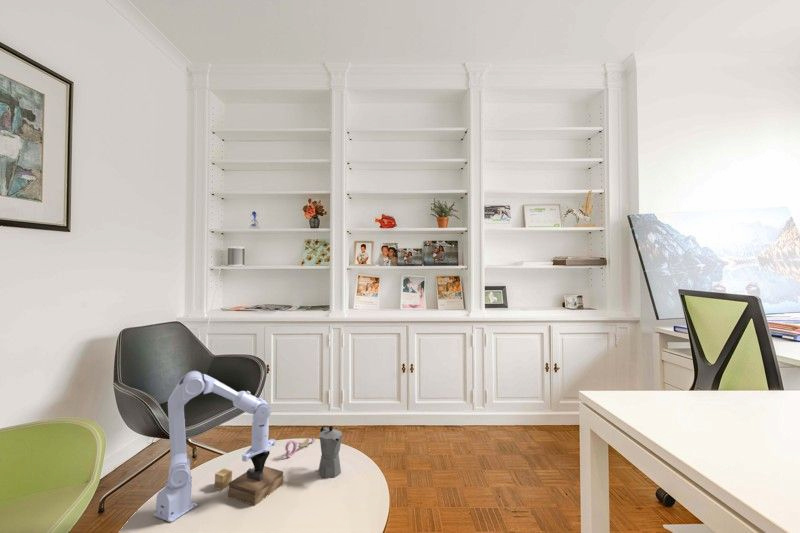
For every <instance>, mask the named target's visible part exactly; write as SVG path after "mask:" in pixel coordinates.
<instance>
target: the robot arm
mask: <svg viewBox="0 0 800 533" xmlns="http://www.w3.org/2000/svg"><path fill="white" fill-rule="evenodd" d="M201 393H203V395H207V394H209V393H213V394H216V395H218V396H221V397H223V398H225V399H227V400H229V401H232V404H233V407H235V408H237V409H240V410H242V411H243V412H245V413H247V414H250V415H252V423H251V446H250V448H249V449H248V450H247V451H245V453H244V454H242V456H241V458H242V459H241V461H242V462H245V463H248V462H249V460H251V462H252V464H253V468H255V470H257V471H261V472H263V468H264V466H266V461H267V460H268V457H269V455H270V454H271V453H270V449H271V448H270V447H272V446H275V445H276V442H277V441H276V439H274V438H270V439H269V431H270V430H269V427H270V424H269V423H270V420H269V418H270V415H271V413H272V410H271V407H270V405H269V404H268V402H267V401H266V400H264V399H263V398H261V397H256V396H254V395H253V394H251V391H249V390H246V391H245V390H240V391H237V390H235V389H234V388H232V387H230V386H228V385H227V384H225V383H223V382H221V381H219V380H218V379H216V378H214V377H212V376H210V375H208V374H205V373H201V372H200V371H198V370H191V371H189V372H187V373H186V374H185V375H183V376H182V377H181V378H180V379H179V381H178V383H177V384H176V385H175V387H174V389H173V391H172V392H171V394H170V396H169V397H168V401H167V410H168V411H167V414H168V416H167V417H168V431H169V432H168V435H169V446H170V447H169V448H170V450H169V451H170V463H169V466H168V478H167V481H166V484H165V486H164V487H163V488H162V489H161V490H160V491H159V492H157V494H156V499H155V500H156V502H155V503H156V505H155V513H154V514H153V516H154V517H156V518H159V519H160V520H161V519H162V520H163V521H167V522H168V523H172V522H173V521H175V520H177V519H179V518H180V517H182V516H183V515H185V514H186V513H188V512H190V511H191V510H193V509H194V508H196V507H197V506H198V503H195V502H194V501H192V487H193V486H192V485H193V483H192V482H193V481H192V480H193V477H192V473H191V459H190V458H189V456H188V454H187V452H188V450H187V437H186V419H185V405H187V403H188V402H189V401H190V400H192V399H193V398H195V397H197V396H199V395H200V394H201Z"/></svg>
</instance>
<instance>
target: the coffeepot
mask: <svg viewBox="0 0 800 533" xmlns="http://www.w3.org/2000/svg"><path fill="white" fill-rule="evenodd" d="M342 433H343V432H342V430H339V429H336V428H334V426H332V425H329V426H328V427H325V426H324V425H323V426H321V428H320V430H319V435H318V436H319V442H320V452H321V455H320V459H319V460H320V461H319V466H318V476H320V477H321V478H323V479H331V478H333V479H334V478H335V477H338V476H339V475H341V473H342V470H341V463H340V462H341V461H340V460H341V459H340V451H341V444H342V440H343V439H342V438H343V434H342Z"/></svg>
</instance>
